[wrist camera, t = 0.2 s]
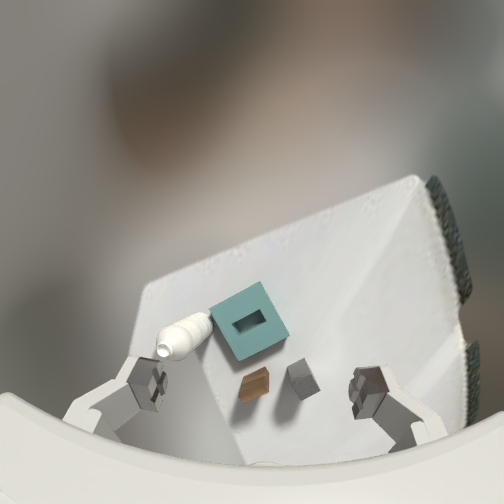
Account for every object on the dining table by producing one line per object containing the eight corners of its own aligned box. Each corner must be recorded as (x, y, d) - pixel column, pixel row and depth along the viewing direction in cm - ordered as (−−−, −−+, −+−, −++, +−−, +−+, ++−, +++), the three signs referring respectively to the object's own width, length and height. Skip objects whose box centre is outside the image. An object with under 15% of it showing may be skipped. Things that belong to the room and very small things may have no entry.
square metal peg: (312, 372, 61) (320, 390, 49) (295, 380, 61) (301, 400, 49) (304, 357, 61) (311, 374, 50) (287, 366, 61) (291, 384, 50)
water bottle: (199, 306, 64) (159, 322, 39) (219, 325, 63) (190, 351, 39) (177, 331, 64) (130, 357, 39) (196, 349, 63) (158, 385, 38)
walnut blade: (268, 372, 62) (268, 391, 50) (247, 383, 62) (243, 403, 50) (265, 366, 62) (264, 384, 50) (243, 376, 62) (238, 396, 50)
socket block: (288, 332, 62) (289, 335, 58) (240, 356, 62) (238, 361, 58) (259, 281, 64) (259, 281, 60) (212, 307, 64) (208, 308, 60)
